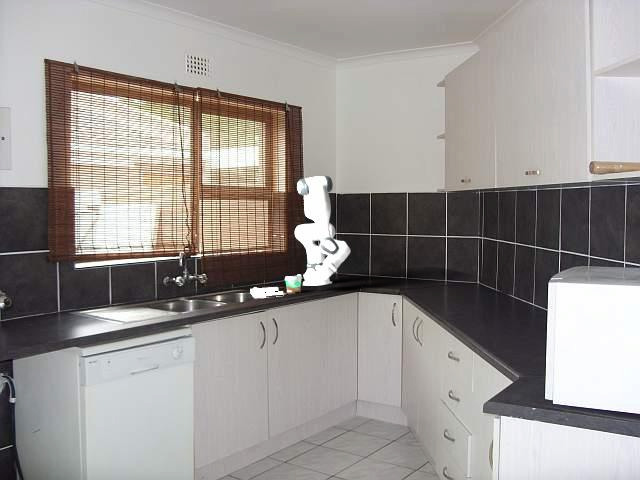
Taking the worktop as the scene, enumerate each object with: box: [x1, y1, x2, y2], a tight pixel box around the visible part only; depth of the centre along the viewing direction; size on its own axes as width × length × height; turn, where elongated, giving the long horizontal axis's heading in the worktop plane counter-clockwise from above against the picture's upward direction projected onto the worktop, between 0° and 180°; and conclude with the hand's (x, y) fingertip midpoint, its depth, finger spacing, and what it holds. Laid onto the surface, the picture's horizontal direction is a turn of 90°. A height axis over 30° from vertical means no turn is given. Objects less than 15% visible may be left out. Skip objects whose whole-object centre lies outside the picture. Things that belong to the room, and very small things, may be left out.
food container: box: [284, 274, 303, 294], centre depth 378 cm, size 12×6×10 cm, turn 143°
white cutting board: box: [250, 286, 284, 299], centre depth 375 cm, size 23×16×3 cm
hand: (314, 282), depth 380 cm, fingers closed
